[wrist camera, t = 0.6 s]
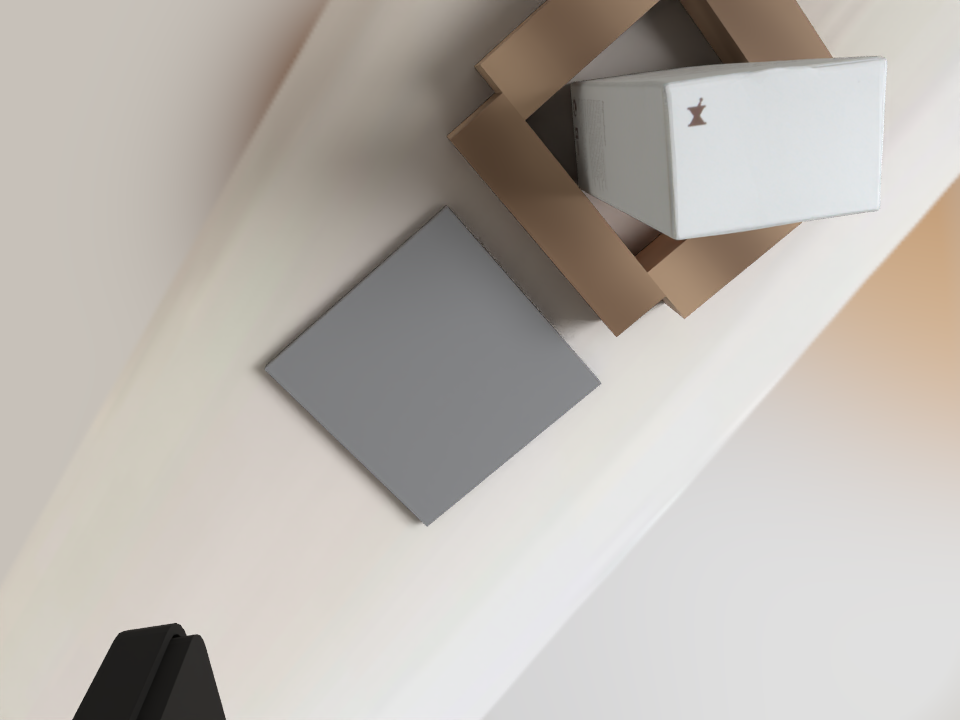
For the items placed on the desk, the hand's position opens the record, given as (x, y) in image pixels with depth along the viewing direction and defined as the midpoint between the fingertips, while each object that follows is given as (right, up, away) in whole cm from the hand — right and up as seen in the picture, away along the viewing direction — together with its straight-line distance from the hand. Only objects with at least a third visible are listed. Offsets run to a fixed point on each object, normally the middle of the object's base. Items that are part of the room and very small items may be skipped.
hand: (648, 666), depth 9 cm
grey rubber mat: (-4, +3, +26) cm, 27 cm away
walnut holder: (+5, +12, +24) cm, 28 cm away
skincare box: (+5, +13, +24) cm, 28 cm away
